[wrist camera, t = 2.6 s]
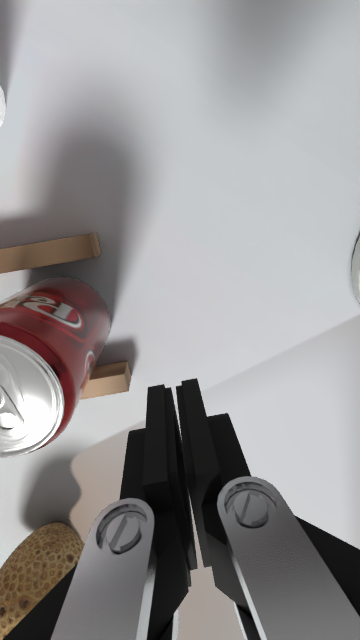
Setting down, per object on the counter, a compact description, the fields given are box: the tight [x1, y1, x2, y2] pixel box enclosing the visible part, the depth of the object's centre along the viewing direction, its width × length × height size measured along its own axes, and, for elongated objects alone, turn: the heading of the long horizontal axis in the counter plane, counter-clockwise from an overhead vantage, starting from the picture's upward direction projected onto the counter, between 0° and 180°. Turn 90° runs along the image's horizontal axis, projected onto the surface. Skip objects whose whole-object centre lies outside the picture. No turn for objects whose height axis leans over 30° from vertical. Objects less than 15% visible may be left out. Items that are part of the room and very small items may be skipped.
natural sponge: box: [0, 522, 85, 640], centre depth 28 cm, size 9×9×10 cm
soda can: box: [0, 277, 111, 458], centre depth 19 cm, size 7×7×12 cm
